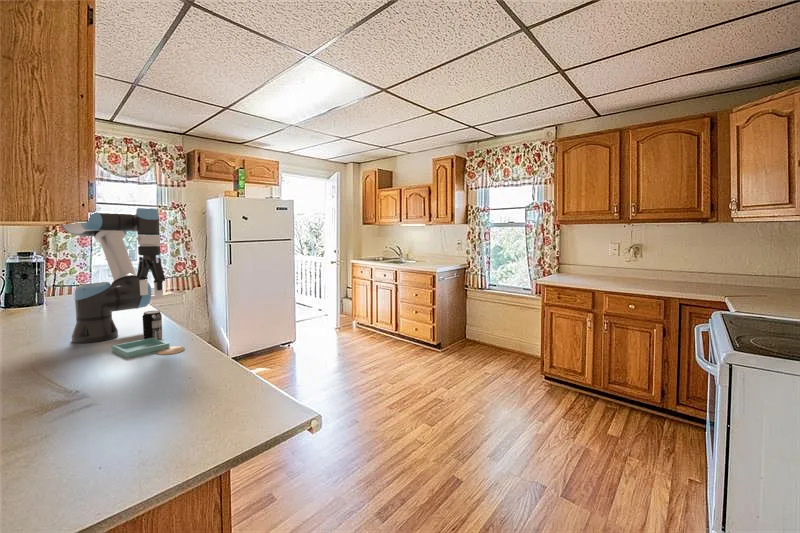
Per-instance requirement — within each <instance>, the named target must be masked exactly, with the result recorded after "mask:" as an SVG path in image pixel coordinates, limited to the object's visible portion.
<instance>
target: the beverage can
mask: <svg viewBox="0 0 800 533" xmlns="http://www.w3.org/2000/svg"><path fill="white" fill-rule="evenodd" d="M162 320H163V318H162V313H161V311H160V310H147V311H144V312H143V315H142V332H143V334H142V335H143V339H148V338H156V339H159V340H162V338H163V321H162Z"/></svg>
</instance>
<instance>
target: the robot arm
mask: <svg viewBox="0 0 800 533" xmlns="http://www.w3.org/2000/svg"><path fill="white" fill-rule="evenodd" d="M96 211H97V210H96ZM159 215H160V214H159V209H157V207H156V208H155V207H137V208H136V212H135V213H134V212H133V213H132V212H119V211H118V212H116V211H115V212H114V211H112V212H111V211H97V212H96V213H94V214H92V215H91V216H90V218H89V221H88V222H87V223H75V224H65V225H60V227H61V228H62V230H64V231H65V232H66V233H69V234H70V235H73V236H81V237H94V239H95V241H96V242H97V243H100V245H101V248H102V251H103V253H104V257H105V259H106V262H107V265H108V267H109V272H110V273H111V276H112V280H113V281H112V282H111V283H110V281H101V282H93V283H88V284H83V285H80V286H78V287H77V288H75V291H74V305H75V320H76V323H75V324H74V328H73V331H72V334H71V342H72V343H76V344H87V343H89V344H90V343H97V342H102V341H103V342H104V341H108V340H111V339H115V338H117V337H118V336H119V330H118V328H117V326H116V324H115V322H114V319H113V316H112V314H113V313H114V312H118V311H119V312H121V311H127V310H135V309H136V310H138V309H140V308H145V307H148V306H149V304H150V302H151V300H152V286H151V284H150V283H149V282H148V280H149V278H148V275H149V272H151V274H152V277H153V279H154V281H153V285H154V286H153V287H154V288H153V290H154V299H155V300H156V299H163V298H164V292H163V291H164V290H163V288H164V287H163V282H164V281H165V282H166V276H165V273H164V269H163V265H162V262H161V261H162V259H161V257H157V256H159V255H161V247H160V245H161V236H160V216H159ZM127 232H136V234H137V237H136V240H137V245H138V246H137V253H138V255H139V257H138V266H137V273H136V271H135V269H134V266H133V263H132V260H131V257H130V255H129V253H128V249H127V248H126V247H127V246H126V245H125V241H124V238H125V236H126V235H127ZM112 312H113V313H112Z"/></svg>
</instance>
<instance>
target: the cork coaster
mask: <svg viewBox="0 0 800 533" xmlns="http://www.w3.org/2000/svg"><path fill="white" fill-rule="evenodd" d="M183 350H184V351H185V347H184V346H179V345H178V346H170V348H167V349H162V350H158V351H156V352H155V353H156V354H157V355H160V356H168V355H175V354H179V353H182V352H183Z"/></svg>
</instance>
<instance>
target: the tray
mask: <svg viewBox="0 0 800 533" xmlns="http://www.w3.org/2000/svg"><path fill="white" fill-rule="evenodd" d="M170 347H171V346H170V343H169V342H167V341H165V340H162V339H161V340H159V339H156V338H148V339H144V338H143V339H139V340H133V341H129V342H123V343H118V344H113V345H111V352H112V353H114V354H116V355H118V356H121V357H122V358H125V359H131V358H137V357H141V356H145V355H149V354H150V355H151V354H153V353H156V351H158V350H162V349H167V348H170Z"/></svg>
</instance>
